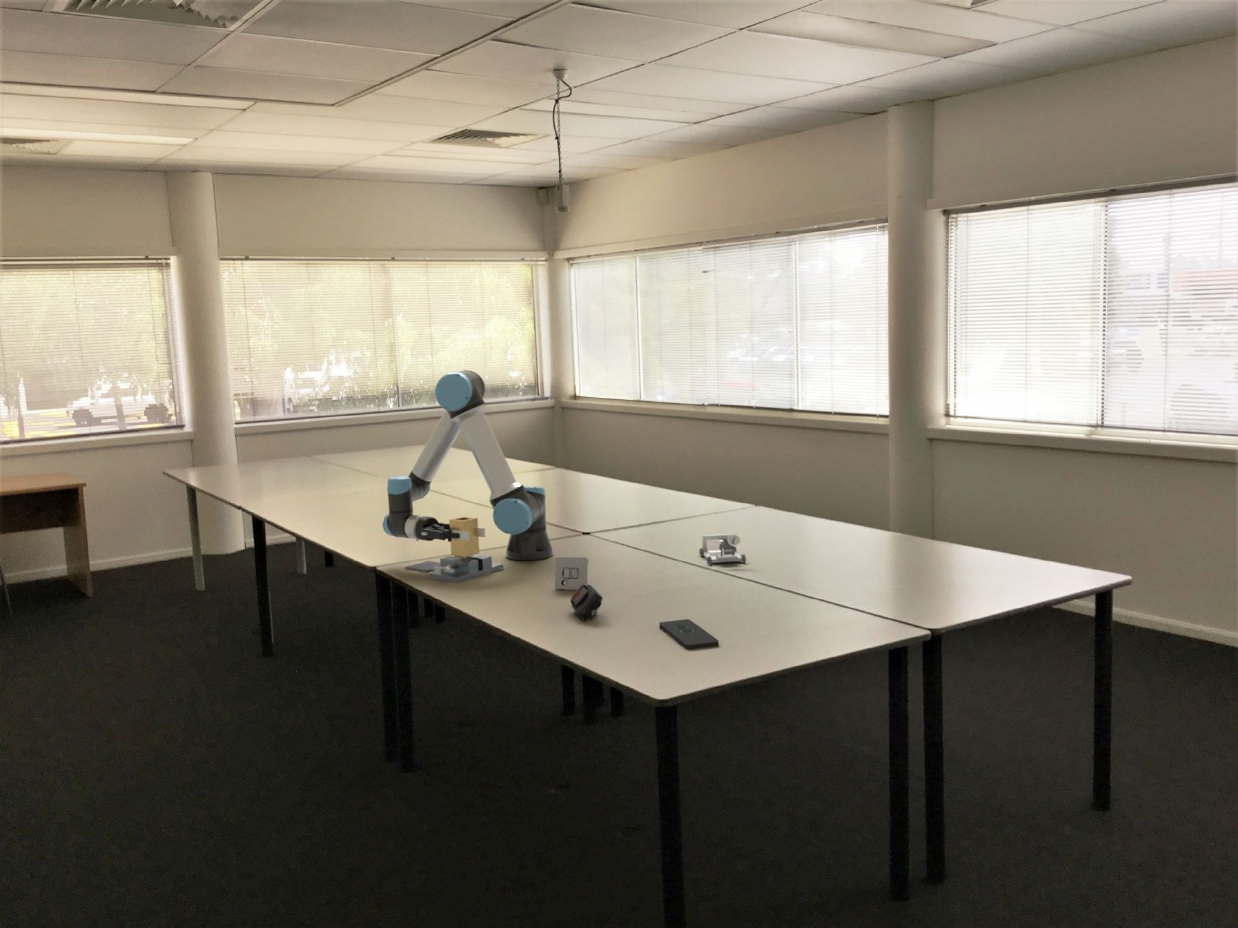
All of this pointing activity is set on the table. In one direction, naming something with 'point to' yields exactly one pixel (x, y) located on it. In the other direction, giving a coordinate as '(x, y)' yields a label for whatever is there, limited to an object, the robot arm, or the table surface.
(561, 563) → the electrical switch
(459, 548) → the brass sleeve
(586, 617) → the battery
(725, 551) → the grey toy rover
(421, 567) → the rubber mat
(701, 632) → the smart home device
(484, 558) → the vise
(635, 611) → the table surface
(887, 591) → the table surface
